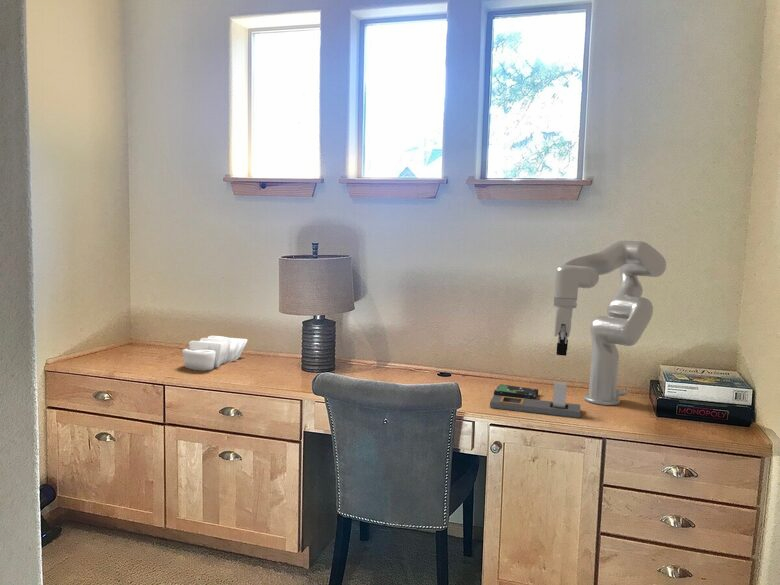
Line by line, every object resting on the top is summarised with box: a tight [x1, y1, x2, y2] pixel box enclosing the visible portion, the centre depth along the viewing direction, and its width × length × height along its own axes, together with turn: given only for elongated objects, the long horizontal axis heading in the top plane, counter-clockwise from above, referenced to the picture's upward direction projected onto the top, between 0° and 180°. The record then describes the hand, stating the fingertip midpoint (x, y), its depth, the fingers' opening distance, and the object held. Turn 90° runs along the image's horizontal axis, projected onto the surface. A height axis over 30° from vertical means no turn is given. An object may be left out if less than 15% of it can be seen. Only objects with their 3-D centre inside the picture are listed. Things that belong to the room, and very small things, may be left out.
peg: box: [552, 381, 568, 409], centre depth 211 cm, size 4×4×10 cm
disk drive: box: [493, 384, 539, 400], centre depth 232 cm, size 10×3×15 cm
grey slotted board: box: [489, 394, 581, 419], centre depth 214 cm, size 30×10×2 cm, turn 73°
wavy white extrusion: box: [181, 334, 248, 372], centre depth 267 cm, size 35×16×10 cm, turn 163°
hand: (561, 352), depth 210 cm, fingers open, 9 cm apart
